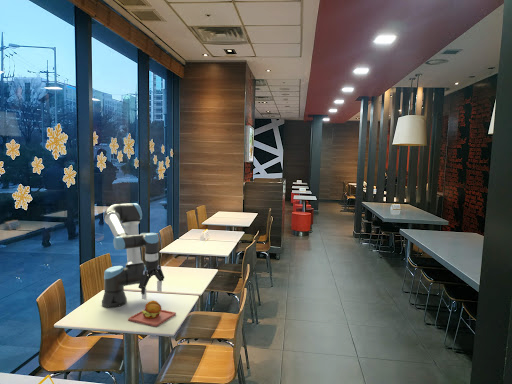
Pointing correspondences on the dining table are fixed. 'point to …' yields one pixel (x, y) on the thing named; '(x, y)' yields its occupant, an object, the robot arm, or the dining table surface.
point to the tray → (154, 322)
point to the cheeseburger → (151, 310)
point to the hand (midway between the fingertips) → (151, 295)
